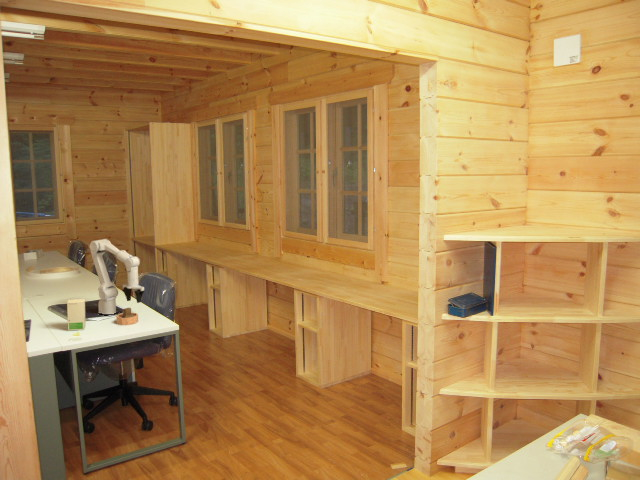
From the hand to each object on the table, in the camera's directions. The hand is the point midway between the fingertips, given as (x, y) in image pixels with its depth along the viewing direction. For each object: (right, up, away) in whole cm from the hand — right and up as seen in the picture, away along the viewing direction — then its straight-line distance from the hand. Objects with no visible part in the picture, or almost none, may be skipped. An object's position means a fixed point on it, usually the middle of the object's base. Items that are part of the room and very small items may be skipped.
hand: (133, 301), depth 309 cm
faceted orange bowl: (-1, -11, -6) cm, 12 cm away
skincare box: (-24, -13, -18) cm, 33 cm away
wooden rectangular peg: (-1, -10, -6) cm, 12 cm away
